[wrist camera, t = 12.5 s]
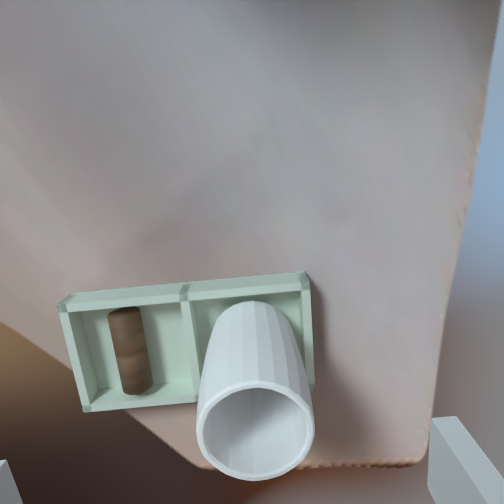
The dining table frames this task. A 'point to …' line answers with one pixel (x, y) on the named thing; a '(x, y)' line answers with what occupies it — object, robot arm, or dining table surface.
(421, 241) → the dining table surface
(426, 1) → the dining table surface
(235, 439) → the cup
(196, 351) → the caddy
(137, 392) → the dowel
